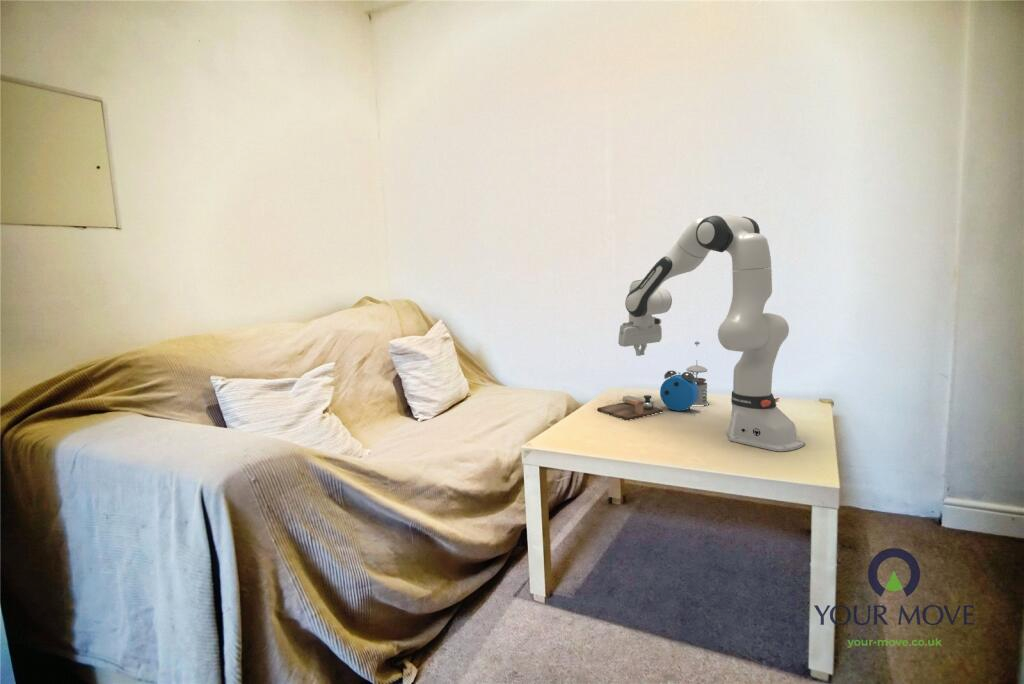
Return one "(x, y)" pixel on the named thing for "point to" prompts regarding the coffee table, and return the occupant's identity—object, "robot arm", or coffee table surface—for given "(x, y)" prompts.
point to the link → (647, 402)
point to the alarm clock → (679, 391)
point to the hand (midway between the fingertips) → (640, 355)
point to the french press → (699, 383)
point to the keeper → (636, 404)
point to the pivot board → (627, 411)
